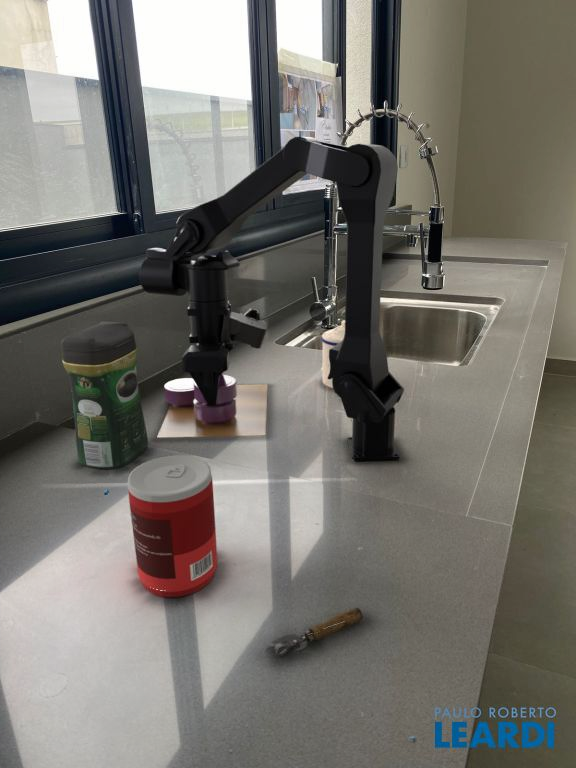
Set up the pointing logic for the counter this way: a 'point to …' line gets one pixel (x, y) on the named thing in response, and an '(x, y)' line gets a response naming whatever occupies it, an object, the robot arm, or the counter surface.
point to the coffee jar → (105, 395)
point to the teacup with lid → (329, 341)
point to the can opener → (302, 640)
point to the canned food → (173, 524)
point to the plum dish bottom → (214, 411)
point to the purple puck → (220, 390)
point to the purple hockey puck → (180, 392)
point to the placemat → (242, 424)
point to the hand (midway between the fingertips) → (214, 397)
